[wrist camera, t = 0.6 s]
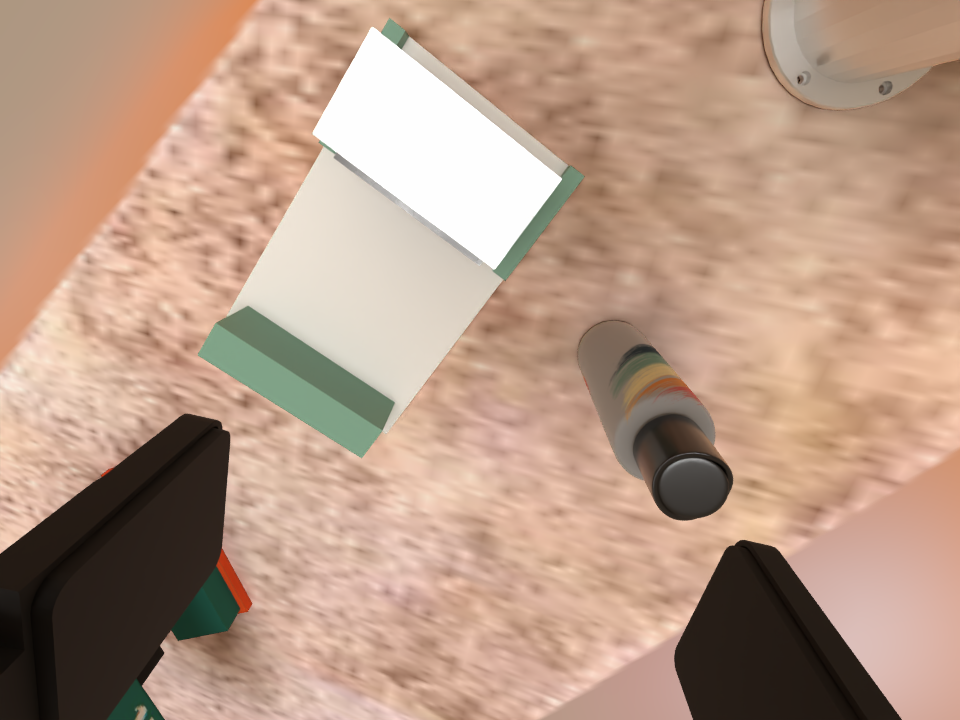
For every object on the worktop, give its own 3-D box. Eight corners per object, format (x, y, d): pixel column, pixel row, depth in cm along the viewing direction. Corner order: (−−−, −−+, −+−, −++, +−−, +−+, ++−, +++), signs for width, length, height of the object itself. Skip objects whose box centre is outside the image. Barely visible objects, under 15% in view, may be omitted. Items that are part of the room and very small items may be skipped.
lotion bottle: (615, 395, 44) (699, 561, 26) (562, 359, 43) (609, 504, 25) (659, 344, 43) (785, 481, 24) (605, 305, 42) (692, 416, 23)
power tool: (306, 693, 58) (214, 942, 39) (250, 703, 59) (133, 951, 40) (175, 452, 48) (-34, 633, 29) (109, 468, 49) (-135, 655, 30)
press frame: (398, 29, 36) (377, 1, 30) (578, 175, 38) (593, 177, 32) (229, 322, 43) (184, 347, 37) (389, 426, 46) (372, 464, 40)
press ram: (406, 64, 35) (372, 26, 26) (546, 176, 37) (562, 179, 28) (352, 155, 37) (302, 150, 28) (487, 256, 39) (484, 283, 30)
